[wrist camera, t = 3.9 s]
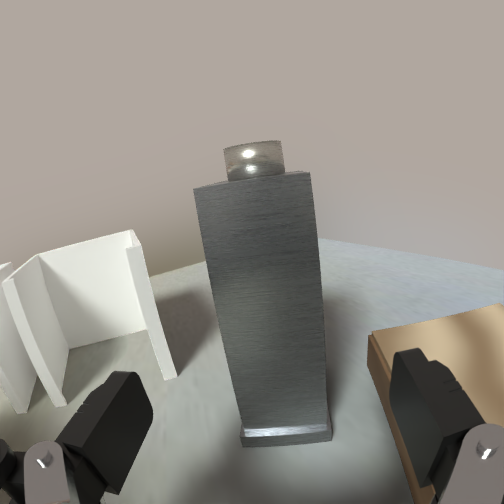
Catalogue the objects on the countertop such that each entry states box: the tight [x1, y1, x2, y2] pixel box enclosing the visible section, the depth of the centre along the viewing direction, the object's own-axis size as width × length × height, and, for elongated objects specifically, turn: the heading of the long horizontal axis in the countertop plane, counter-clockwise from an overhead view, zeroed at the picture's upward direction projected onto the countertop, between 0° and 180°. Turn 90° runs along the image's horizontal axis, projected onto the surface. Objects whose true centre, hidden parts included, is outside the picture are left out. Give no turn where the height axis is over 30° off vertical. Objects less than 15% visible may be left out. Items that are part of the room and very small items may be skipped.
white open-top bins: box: [0, 230, 178, 414], centre depth 21 cm, size 25×11×11 cm, turn 115°
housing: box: [193, 141, 332, 447], centre depth 16 cm, size 5×8×16 cm, turn 175°
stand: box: [367, 303, 504, 504], centre depth 13 cm, size 12×14×3 cm
